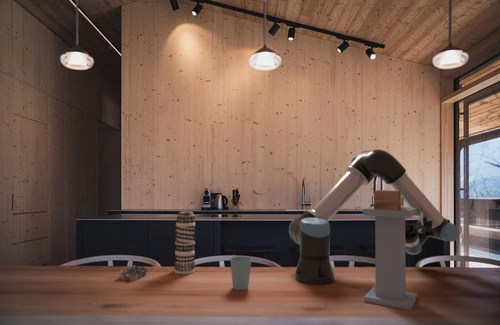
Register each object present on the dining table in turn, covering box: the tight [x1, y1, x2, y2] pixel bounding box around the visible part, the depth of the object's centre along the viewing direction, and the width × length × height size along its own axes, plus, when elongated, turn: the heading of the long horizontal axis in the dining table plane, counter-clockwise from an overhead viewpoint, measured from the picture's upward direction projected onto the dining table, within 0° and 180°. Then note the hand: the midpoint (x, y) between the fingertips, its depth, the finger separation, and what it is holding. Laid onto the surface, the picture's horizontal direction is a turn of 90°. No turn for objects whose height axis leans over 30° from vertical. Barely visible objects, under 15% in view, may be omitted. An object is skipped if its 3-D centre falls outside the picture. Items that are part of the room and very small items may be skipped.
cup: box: [230, 256, 252, 291], centre depth 128 cm, size 8×8×10 cm
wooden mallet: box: [373, 189, 405, 211], centre depth 123 cm, size 26×7×6 cm, turn 149°
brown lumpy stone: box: [119, 264, 149, 282], centre depth 141 cm, size 11×8×4 cm
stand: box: [362, 205, 418, 311], centre depth 119 cm, size 14×17×30 cm
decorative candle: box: [173, 210, 197, 275], centre depth 151 cm, size 9×9×25 cm
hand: (401, 213), depth 140 cm, fingers open, 13 cm apart
